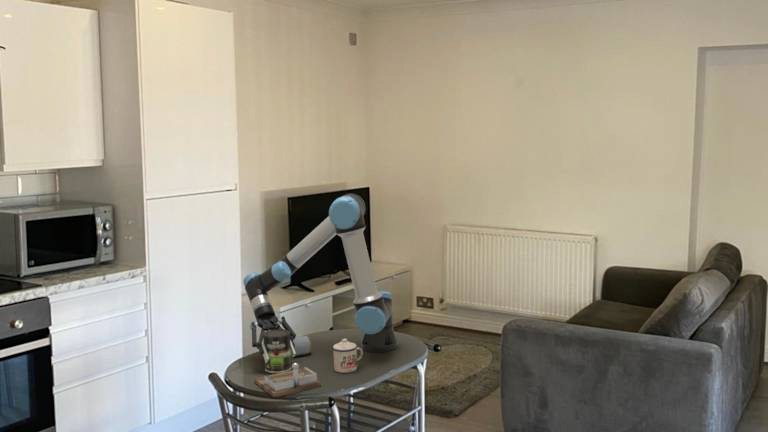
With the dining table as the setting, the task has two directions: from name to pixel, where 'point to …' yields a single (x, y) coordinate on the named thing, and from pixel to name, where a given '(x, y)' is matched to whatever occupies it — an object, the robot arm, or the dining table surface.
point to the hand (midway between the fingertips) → (280, 358)
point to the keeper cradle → (292, 380)
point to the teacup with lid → (346, 356)
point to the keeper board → (285, 376)
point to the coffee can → (277, 351)
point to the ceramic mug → (302, 345)
